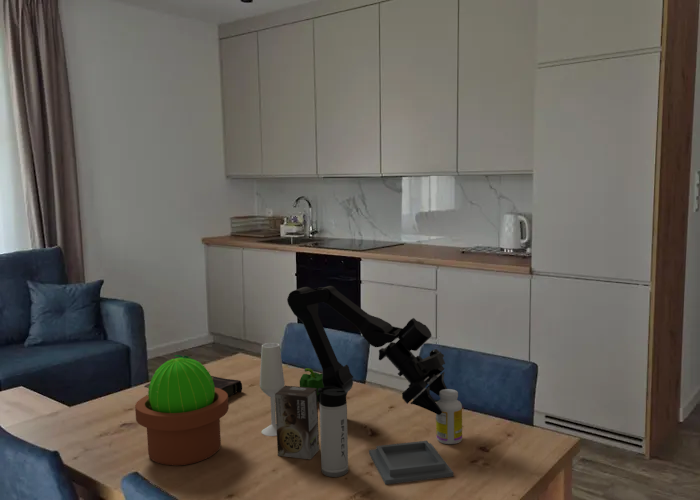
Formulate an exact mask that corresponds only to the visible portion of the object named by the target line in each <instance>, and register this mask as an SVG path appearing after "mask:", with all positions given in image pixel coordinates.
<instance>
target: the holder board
mask: <svg viewBox="0 0 700 500" xmlns="http://www.w3.org/2000/svg"><path fill="white" fill-rule="evenodd" d="M375 447H376V448H375V449H368V455H369V456H370V459H371V460H372V462H373V464H374V466H375V468H376V470H377V471H378V474H379V475H380V477H381V479H382V481H383V484H384V485H393V484H401V483H409V482H418V481H427V480H434V479H444V478H450V477H454V471H453V470H452V468H451V467H450V466H449V465H448V464H447V462H446V461H445V460H444V458H443V457H442V456H441V454H440V453H439V452H438V451H437V449H436V448H435V447H434V446H433V444H432V443H431V442H429V441H428V440H420V441H410V442H403V443H401V442H400V443H391V444H383V445H382V444H381V445H376V446H375Z"/></svg>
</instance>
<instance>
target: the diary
mask: <svg viewBox="0 0 700 500" xmlns="http://www.w3.org/2000/svg"><path fill="white" fill-rule="evenodd" d="M211 377H212V378H213V382H214V387H216V388H219V389H222V390H224V391H225V392H226V393H227V394H228V398H230V397H232V396H234V395H237V393H243V392H242V391H243V383H242V381H241V380H239V379H232V378H223V377H218V376H213V375H211ZM149 385H150V382H149V383H147V384H146V385H144V388H147V387H148V386H149ZM146 386H147V387H146Z"/></svg>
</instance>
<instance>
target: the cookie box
mask: <svg viewBox="0 0 700 500" xmlns="http://www.w3.org/2000/svg"><path fill="white" fill-rule="evenodd" d="M275 416H276V426H277V436H276V441H277V442H276V446H277V447H276V448H277V456H278V457H287V458H293V459H294V458H296V459H303V460H311V459H313V457H314V456H316V454H317V453H318V452H319V450H320V439H319V437H320V434H319V433H320V432H319V431H320V430H319V407H318V402H317V388H308V387H300V386H297V385H296V386H295V385H294V386H293V385H284V387H283V388H281V389H280V390H279V391H278V392H277V393H276V394H275Z"/></svg>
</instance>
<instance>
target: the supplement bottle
mask: <svg viewBox="0 0 700 500" xmlns="http://www.w3.org/2000/svg"><path fill="white" fill-rule="evenodd" d="M438 397H439V398H440V399H439V400H437V402H436V403H437V405H438V406H439V408H440V409H441V411H442V413H441V414H440V415H438V414H436V413H435V428H436V429H435V431H436V432H435V434H436V435H435V436H436V440H437V441H438V442H439V443H441V444H444V445H445V444H446V445H456V444H459V443H460V442H461V441H462V440H463V404H462V403H461V401H460V400H458V397H459V392H458V391H457V390H455V389H451V388H447V389H444V390H441V391H440V395H439V396H438Z"/></svg>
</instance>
